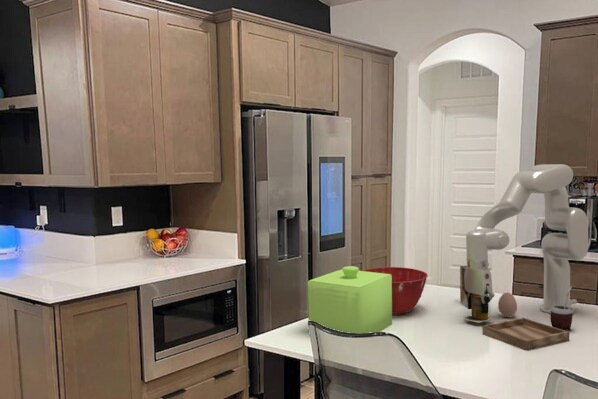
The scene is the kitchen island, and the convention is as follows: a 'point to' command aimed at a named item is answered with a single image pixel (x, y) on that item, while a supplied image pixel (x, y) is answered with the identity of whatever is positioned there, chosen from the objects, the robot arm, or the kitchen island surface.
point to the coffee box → (462, 282)
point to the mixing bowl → (404, 287)
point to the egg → (507, 305)
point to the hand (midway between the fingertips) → (478, 310)
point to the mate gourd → (561, 316)
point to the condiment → (477, 310)
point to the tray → (525, 333)
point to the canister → (351, 300)
